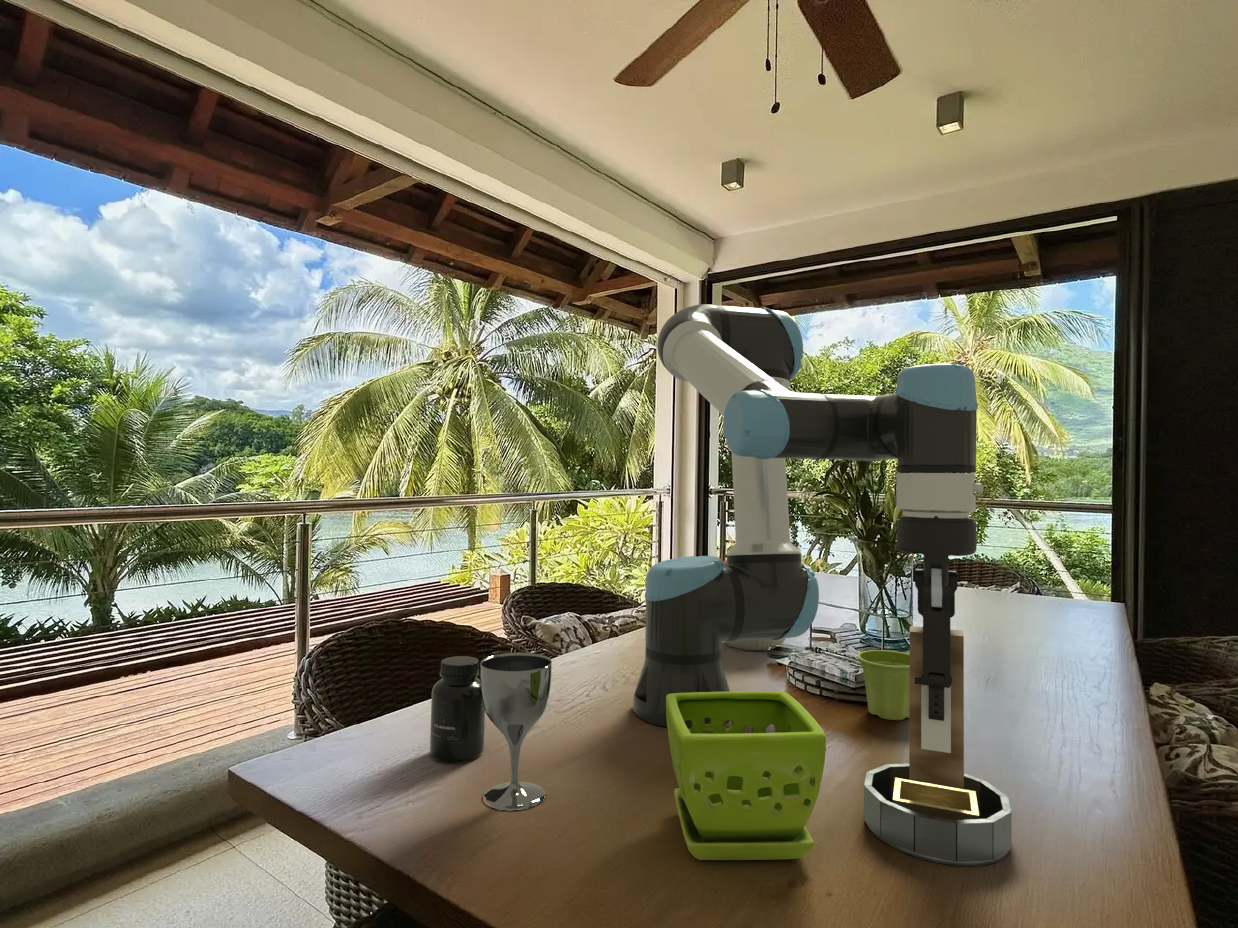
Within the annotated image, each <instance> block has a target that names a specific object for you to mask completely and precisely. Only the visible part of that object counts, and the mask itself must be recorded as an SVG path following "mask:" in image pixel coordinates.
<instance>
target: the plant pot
mask: <svg viewBox="0 0 1238 928" xmlns="http://www.w3.org/2000/svg"><path fill="white" fill-rule="evenodd" d="M857 659H858V660H859V661H860V666H861V670H862V671H863V679H864V686H865V693H866V701H867V710H868V712H869V714H870V715H873V716H875V715H876V716H878V717H879V718H880V719H883V720H890V721H903V720H904V719H906V718H908V719H909V653H907V652H904V651H903V652H902V651H894V650H886V649H885V650H883V649H874V650H873V649H872V650H870V649H869V650H865V651H861V652H859V653H857Z"/></svg>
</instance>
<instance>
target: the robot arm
mask: <svg viewBox="0 0 1238 928" xmlns="http://www.w3.org/2000/svg"><path fill="white" fill-rule="evenodd" d="M801 332H802V331H801V329H800V327H799V325H798V323H797V322H796V320H795V319H794V318H793V316H791V315H790V314H789V313H788V312H785V311H782V310H777V309H776V310H775V309H770V308H768V307H743V306H733V305H731V306H729V305H718V304H717V305H716V304H710V303H709V304H707V303H705V304H704V303H702V304H694V305H689V306H688V307H685V308H683V309H680V310H679V311H677V312H675V313H674V314H673V315H671V316H670V317H669V318H668V319H667V320H666V322H665V323H664V324H663V325H662V327H661V329H660V332H659V334H658V336H657V337H658V338H657V342H656V343H657V354H658V357H659V360H660V362H661V364H662V366H663V367H664V368H665V369H666V371H668V372H669V374H671V375H672V376H673V377H674V378H675V379H678V380H680V381H683V382H688V383H689V384H690V385H691V386H693V388H694V389H696V391H698V393H700V395H702V396H703V398H705V400H706V401H708V402H709V403H710V404H711V406H713V407H714V408H715V409H716V411H718V412H719V413H720V414H721V415H722V417H723V419H722V420H723V421H722V429H723V430H722V431H723V432H722V433H723V436H724V439H725V440H726V446H727V448H728V449H729V450H730V452H731V468H732V487H733V488H732V489H733V490H732V491H733V511H734V533H735V543H734V546H733V547H732V548H731V549H730V550H729V551H728V552H727V553H726V560H727V565H726V566H724V565H723V563H722V561H723V560H722V559H721V558H720V557H718V556H714V555H699V556H695V555H692V556H683V557H676V558H671V559H666V560H662V561H660V562H657V563H655V564H653V565H652V566H651V567H650V568H649V569H648V571H647V575H646V584H645V586H646V587H645V593H644V599H645V652H644V653H645V654H644V655H645V657H644V663H643V667H642V669H641V672H640V675H639V679H638V681H637V684H636V687H635V690H634V694H633V698H632V701H633V702H632V704H633V705H632V707H633V709H632V710H634V711H633V713H634V712H635V713H634V715H635V714H636V715H637V716H636V717H637V718H639V717H640V718H639V719H640V720H642V719H643V720H642V721H644V720H645V722H647V723H650V724H653V725H657V726H661V727H667V718H666V696H667V695H668V694H672V693H691V692H731V691H730V686H729V684H728V680H727V677H726V673H725V670H724V667H723V664H722V647H723V646H722V645H723V643H725V642H724V641H744V640H764V639H772V640H781V639H783V638H785V639H791V638H797V637H800V636H802V635H804V634H805V633H807V631H808V630H809V629H810V628H811V626H812V624H813V623H814V621H815V618H816V616H817V612H818V609H819V602H820V601H819V600H820V588H819V582H818V579H817V577H815V575H816V573H815V572H814V570H813V569H812V568H811V567H810V566H809V565H808V564H805V563H804V562H802V551H800V550H799V549H798V548H797V547H796V546H795V545H794V544H793V543H792V541H791V533H790V532H791V531H790V513H789V499H788V497H789V495H788V483H787V482H788V481H787V480H788V479H787V478H788V477H787V465H786V459H796V460H797V459H803V460H805V459H813V460H816V459H817V460H843V461H844V460H848V461H854V462H867V463H871V462H876V461H884V460H896V462H897V466H896V475H895V478H896V480H895V481H896V485H895V486H896V487H895V489H896V494H895V495H896V497H895V498H896V506H895V508H896V509H897V510H898V511H899V512H902V515H901V516H899V517H898V518H897V519H896V547H897V549H898V550H899V551H901V552H903V553H906V554H913V555H923V567H922V568H915V572H914V586H915V588H916V590H917V613H918V614H919V615H921V616H922V627H923V673H922V674H921V678H918V677H915V684H920V685H921V749H926V750H933V751H940V752H946V753H951V683H952V677H951V676H950V630H951V618H953V617H954V616H955V615H956V612H955V611H956V596H955V594H956V591H957V590H958V586H959V585H958V573H957V571H956V570H949V557H950V556H953V557H955V556H957V557H964V556H966V557H967V556H971V555H974V554H975V553H976V552H977V521H975V519H974V518H971V517H970V514H971V513H974V512H975V511H977V510H976V508H977V506H976V504H977V503H976V501H977V500H976V499H977V497H976V495H975V494H974V493H976V494H977V493H982V492H983V490H984V485H983V484H982V483H980V482H974V481H976V479H977V478H976V473H977V467H976V466H977V419H978V418H977V410H978V409H979V403H977V389H976V379H975V378H976V377H975V373H974V371H973V369H971V368H970V367H968V366H966V365H963V364H958V363H957V364H956V363H932V364H931V363H929V364H920V365H919V364H918V365H913V366H909V367H904V368H903V370H901V371H900V372H899V373H898V375H897V381H896V387H895V392H893V393H888V394H886V393H885V394H881V395H855V394H829V393H815V392H812V393H811V392H810V393H809V392H798V391H797V392H796V391H791V390H790V389H789V388H790V387H791V380H792V379H794V378H795V377H796V376H797V374H799V371H800V369H801V367H802V361H801V360H802V359H803V356H804V340H803V336H802V333H801ZM709 723H710V719H709V718H706V719H705V724H709ZM685 724H686V726H687V728H688V729H690V728H691V721H690V720H687V721H685Z"/></svg>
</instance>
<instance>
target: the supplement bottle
mask: <svg viewBox="0 0 1238 928" xmlns="http://www.w3.org/2000/svg"><path fill="white" fill-rule="evenodd" d="M479 663H480V662H479V659H478V658H476V657H474V656H465V655H461V656H460V655H457V656H451V657H446V658H443V659H441V661H440V671H439V677H441V679H439V680H438V681H436V683H434V685H433V687H432V689H431V702H430V703H431V706H430V707H431V708H430V709H431V710H430V735H429V736H430V737H429V738H430V739H429V753H430V755H431V757H432V758H433V759H434V760H435V761H437V760H438V761H437V762H440V761H441V763H444V762H447V763H446V764H461V763H460V762H463V763H466V762H465V761H468V762H471V761H474V760H475V758H476V759H477V758H479V757H480V756H481V755H482V754H483V752H484V749H485V730H486V729H485V728H486V727H485V725H486V723H485V722H486V720H485V719H486V711H485V708H484V704H483V700H482V694H481V686H480V678H478V676H480V669H479V667H480V664H479ZM473 759H474V760H473ZM470 760H471V761H470Z"/></svg>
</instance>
